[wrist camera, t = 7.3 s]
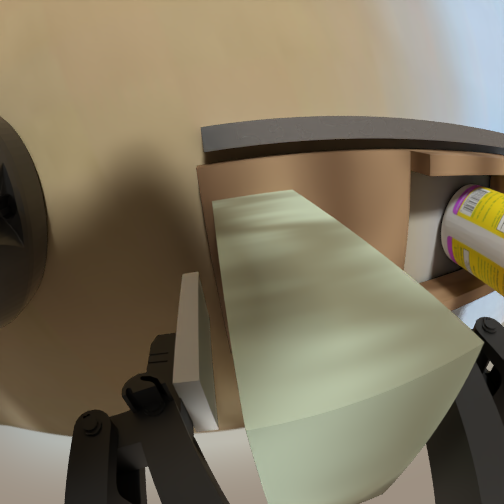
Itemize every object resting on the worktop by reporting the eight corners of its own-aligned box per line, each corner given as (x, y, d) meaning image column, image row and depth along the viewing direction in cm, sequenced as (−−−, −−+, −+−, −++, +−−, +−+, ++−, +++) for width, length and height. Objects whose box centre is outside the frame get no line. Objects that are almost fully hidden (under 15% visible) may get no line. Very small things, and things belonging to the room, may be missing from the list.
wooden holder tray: (229, 341, 19) (265, 534, 7) (196, 165, 14) (162, 334, 2) (483, 271, 21) (573, 343, 9) (499, 154, 16) (618, 199, 5)
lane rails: (239, 357, 20) (242, 371, 18) (201, 128, 14) (200, 127, 12) (531, 261, 24) (538, 266, 22) (546, 145, 17) (555, 148, 16)
